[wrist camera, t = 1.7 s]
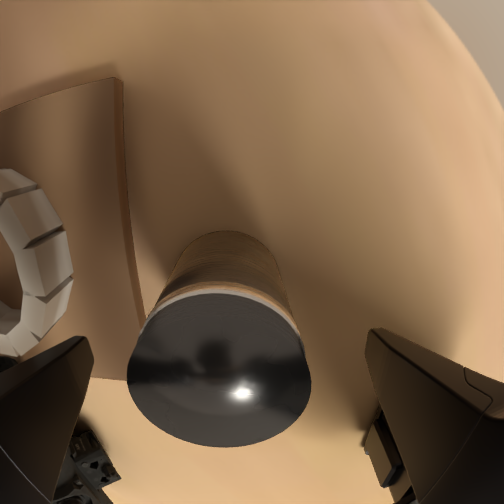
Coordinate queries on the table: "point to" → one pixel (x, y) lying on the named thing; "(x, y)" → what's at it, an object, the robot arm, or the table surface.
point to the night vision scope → (80, 466)
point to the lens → (221, 348)
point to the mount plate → (68, 228)
